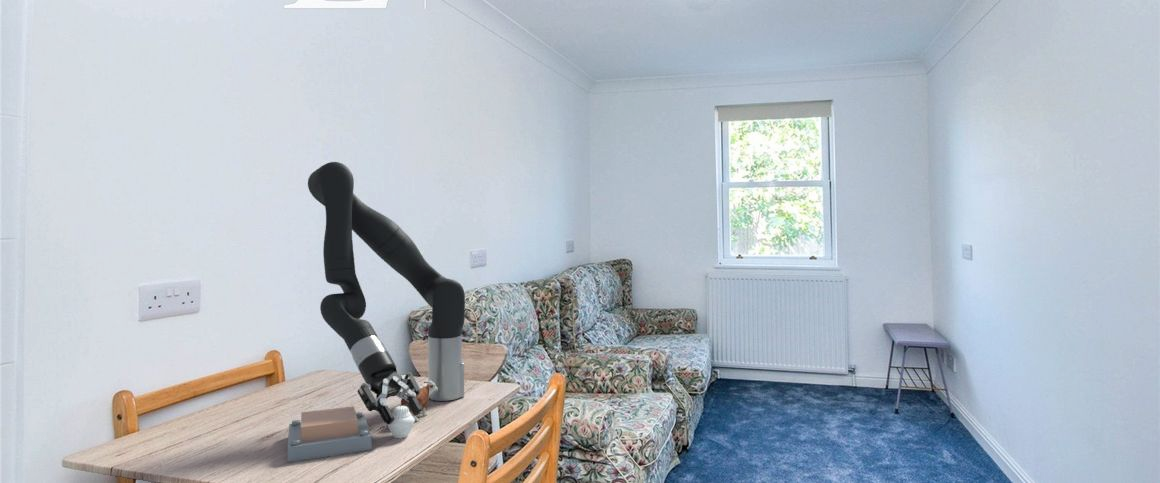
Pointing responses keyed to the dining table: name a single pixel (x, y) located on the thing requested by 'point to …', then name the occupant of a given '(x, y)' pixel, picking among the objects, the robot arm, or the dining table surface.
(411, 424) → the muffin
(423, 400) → the bull figurine
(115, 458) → the dining table surface
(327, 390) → the dining table surface
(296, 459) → the grey pegged tray
